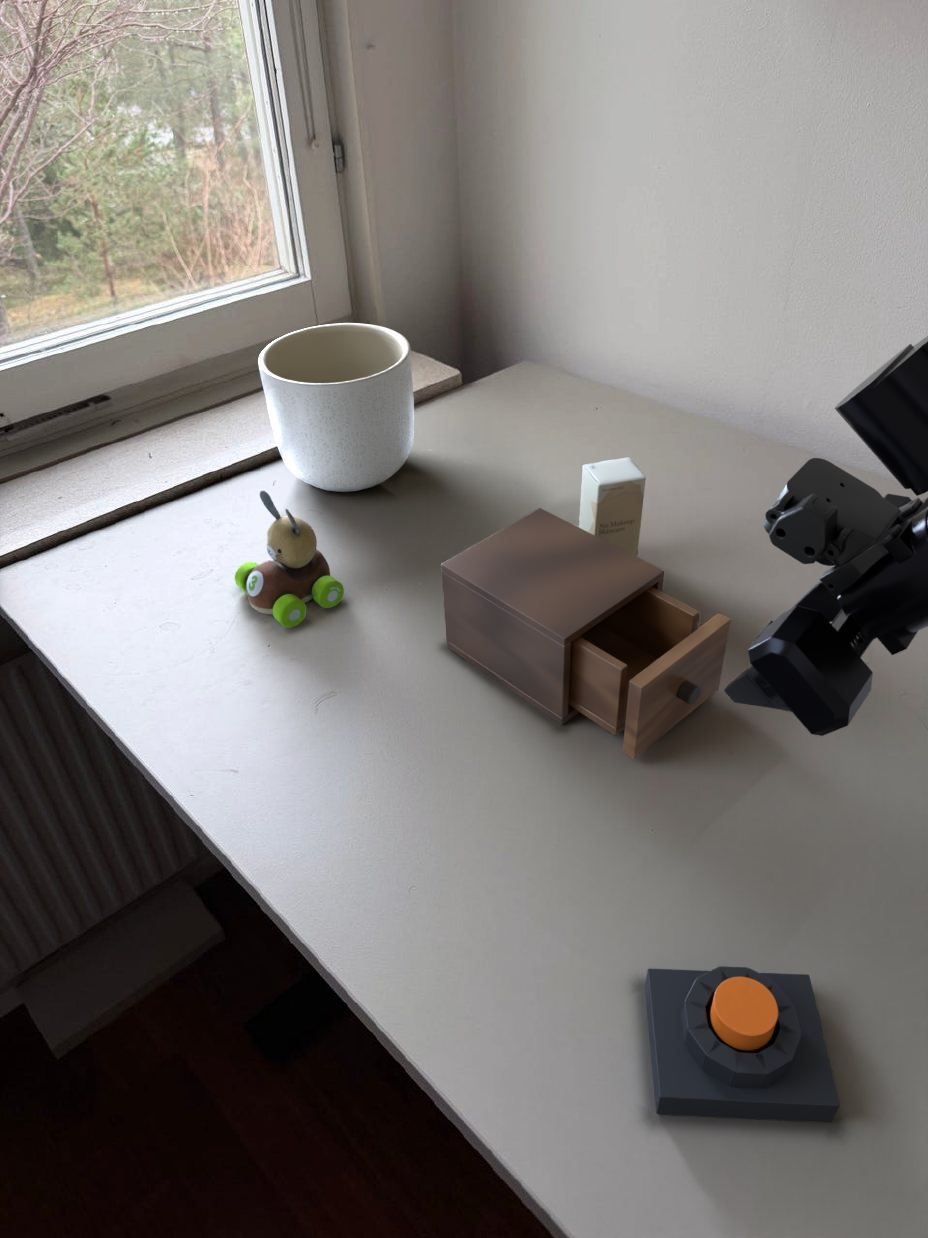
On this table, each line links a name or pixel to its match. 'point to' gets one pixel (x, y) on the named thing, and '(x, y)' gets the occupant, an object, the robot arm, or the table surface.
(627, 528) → the box
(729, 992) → the button
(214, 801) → the table surface
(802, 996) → the switch block
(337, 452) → the planter
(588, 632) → the brown wooden drawer
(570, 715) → the nightstand
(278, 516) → the toy car
